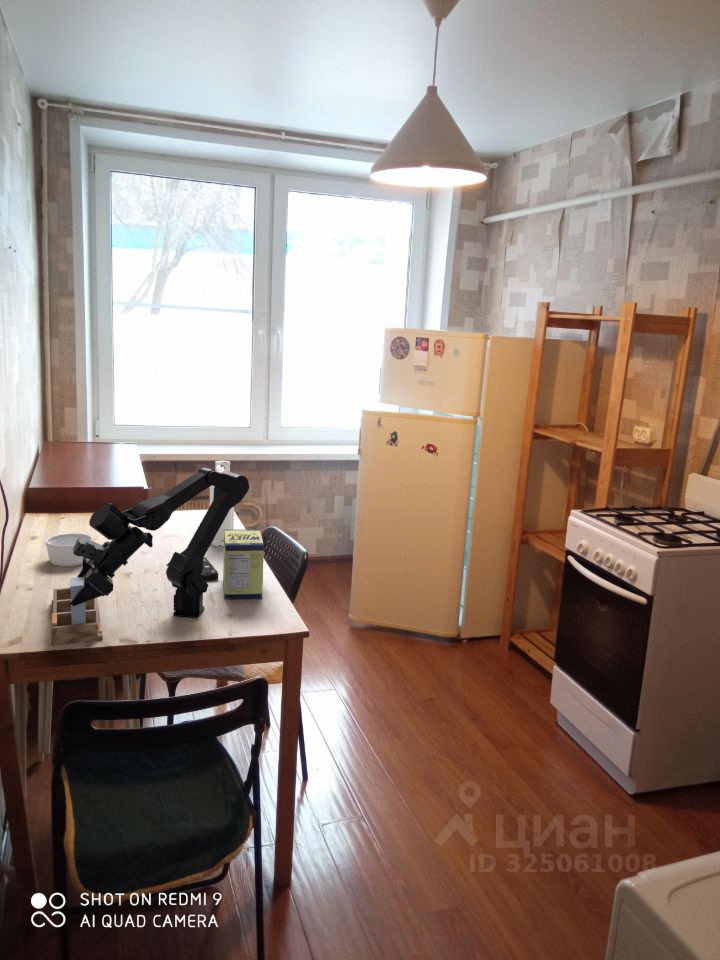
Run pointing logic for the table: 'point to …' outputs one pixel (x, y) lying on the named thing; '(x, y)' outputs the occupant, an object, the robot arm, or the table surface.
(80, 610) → the blanking panel
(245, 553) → the protein box
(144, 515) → the robot arm
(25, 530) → the table surface
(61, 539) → the ramekin
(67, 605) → the rack
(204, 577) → the disk drive
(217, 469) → the bottle
